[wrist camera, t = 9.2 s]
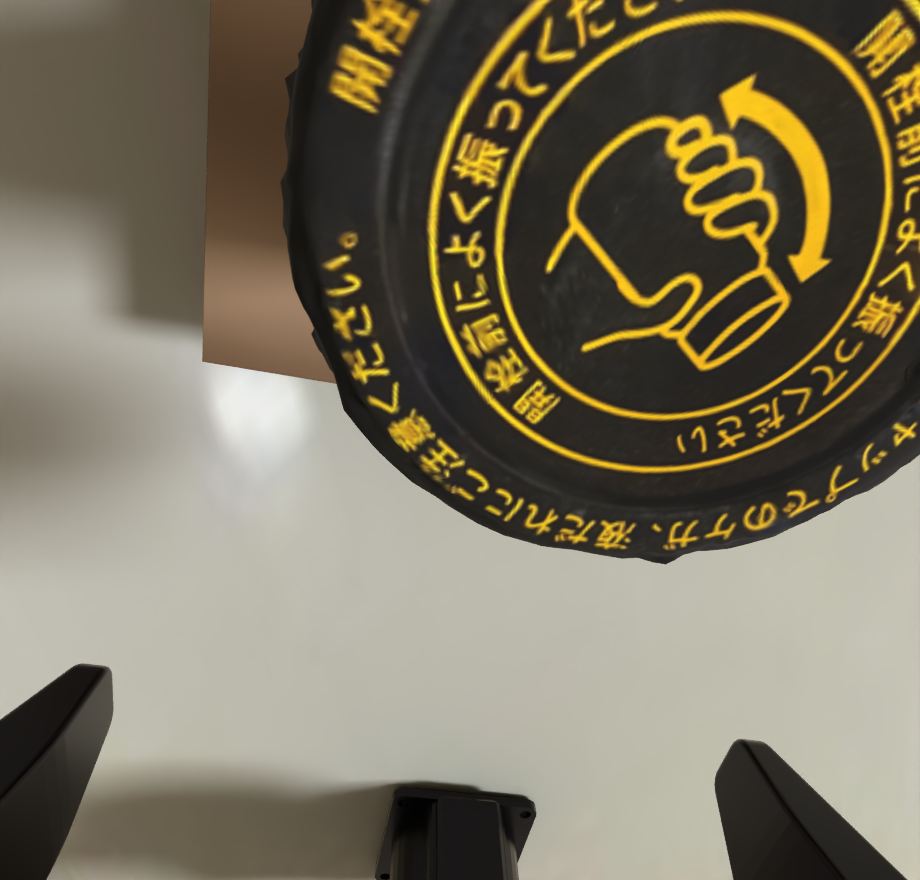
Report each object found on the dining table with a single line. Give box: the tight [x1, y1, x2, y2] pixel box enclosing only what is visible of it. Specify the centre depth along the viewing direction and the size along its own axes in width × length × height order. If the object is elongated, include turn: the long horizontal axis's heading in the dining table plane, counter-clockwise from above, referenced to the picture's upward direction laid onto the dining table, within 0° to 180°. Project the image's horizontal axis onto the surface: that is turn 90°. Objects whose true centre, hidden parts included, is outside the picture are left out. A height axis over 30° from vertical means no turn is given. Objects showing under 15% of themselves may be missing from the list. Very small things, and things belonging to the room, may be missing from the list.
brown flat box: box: [202, 0, 337, 384], centre depth 17 cm, size 12×12×4 cm
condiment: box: [280, 0, 920, 564], centre depth 9 cm, size 7×8×12 cm
